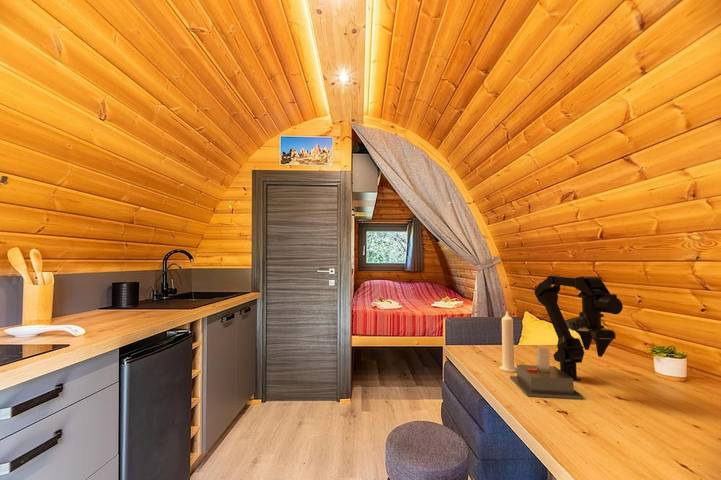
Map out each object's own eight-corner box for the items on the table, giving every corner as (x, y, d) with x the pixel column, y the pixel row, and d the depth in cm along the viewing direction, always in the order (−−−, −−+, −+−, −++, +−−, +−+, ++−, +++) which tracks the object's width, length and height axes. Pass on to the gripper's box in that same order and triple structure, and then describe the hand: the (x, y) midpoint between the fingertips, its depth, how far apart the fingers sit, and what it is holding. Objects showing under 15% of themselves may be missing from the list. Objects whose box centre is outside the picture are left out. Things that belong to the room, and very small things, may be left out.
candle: (514, 367, 147) (512, 309, 149) (520, 372, 140) (518, 312, 142) (497, 366, 148) (496, 309, 149) (502, 371, 141) (501, 311, 142)
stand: (510, 378, 133) (509, 361, 133) (558, 380, 131) (557, 363, 131) (527, 396, 115) (527, 376, 115) (583, 399, 113) (582, 379, 113)
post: (536, 371, 125) (536, 346, 126) (546, 371, 125) (545, 347, 125) (540, 374, 122) (539, 349, 122) (550, 374, 121) (549, 349, 122)
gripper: (557, 306, 134) (558, 346, 133) (580, 313, 116) (581, 359, 115) (587, 307, 133) (589, 347, 132) (615, 314, 114) (617, 361, 113)
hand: (593, 353), depth 123 cm, fingers open, 9 cm apart
